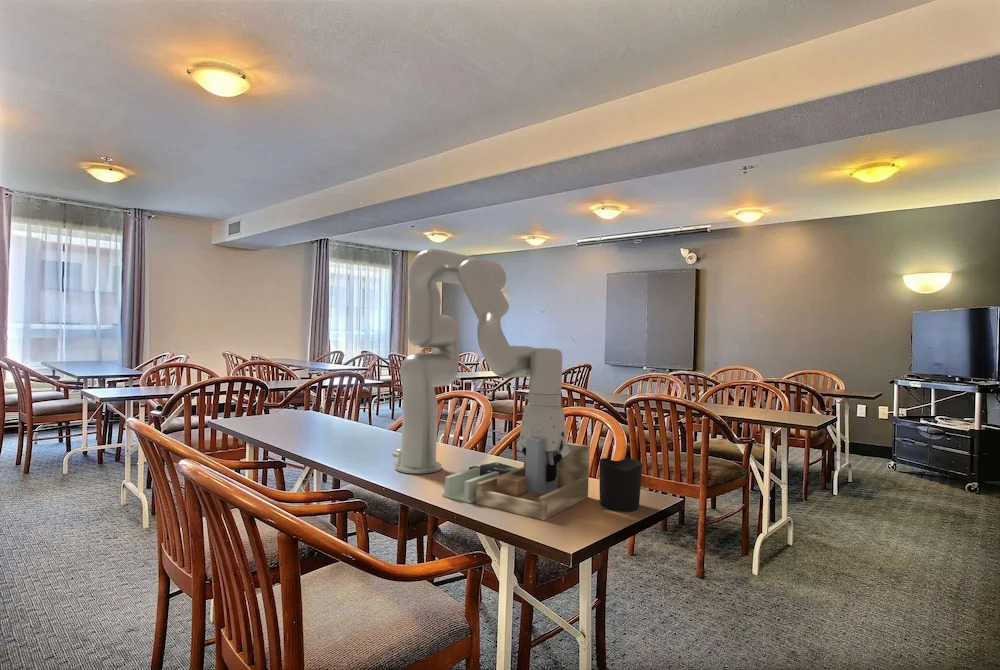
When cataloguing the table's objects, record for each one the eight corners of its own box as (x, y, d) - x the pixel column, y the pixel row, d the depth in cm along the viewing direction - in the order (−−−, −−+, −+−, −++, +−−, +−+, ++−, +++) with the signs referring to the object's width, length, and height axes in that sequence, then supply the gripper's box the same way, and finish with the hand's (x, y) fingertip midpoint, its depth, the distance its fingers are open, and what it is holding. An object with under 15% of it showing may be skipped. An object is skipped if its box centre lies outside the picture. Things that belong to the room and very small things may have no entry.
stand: (442, 496, 127) (443, 476, 127) (473, 485, 137) (474, 467, 137) (470, 503, 122) (471, 482, 122) (500, 491, 132) (501, 472, 132)
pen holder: (610, 497, 131) (612, 455, 131) (647, 506, 125) (649, 462, 125) (590, 505, 124) (591, 461, 124) (628, 515, 118) (630, 468, 118)
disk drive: (467, 477, 147) (506, 489, 136) (467, 467, 147) (506, 478, 136) (496, 471, 154) (535, 482, 143) (496, 461, 154) (535, 472, 143)
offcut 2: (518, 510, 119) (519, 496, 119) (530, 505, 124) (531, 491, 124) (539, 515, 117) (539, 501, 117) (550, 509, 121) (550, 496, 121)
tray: (475, 503, 123) (477, 449, 123) (525, 483, 140) (527, 436, 140) (543, 520, 113) (545, 461, 113) (587, 496, 131) (589, 446, 131)
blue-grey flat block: (524, 500, 126) (526, 439, 126) (545, 490, 135) (547, 433, 135) (536, 503, 124) (538, 440, 124) (557, 493, 133) (559, 435, 133)
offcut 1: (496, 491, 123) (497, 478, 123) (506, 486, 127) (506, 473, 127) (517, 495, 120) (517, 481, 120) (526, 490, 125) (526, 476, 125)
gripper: (506, 398, 131) (503, 476, 131) (569, 406, 122) (566, 489, 122) (522, 396, 137) (519, 470, 137) (584, 403, 128) (581, 482, 128)
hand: (541, 478), depth 129 cm, fingers open, 4 cm apart
